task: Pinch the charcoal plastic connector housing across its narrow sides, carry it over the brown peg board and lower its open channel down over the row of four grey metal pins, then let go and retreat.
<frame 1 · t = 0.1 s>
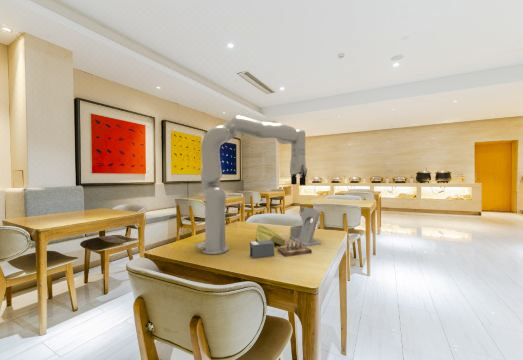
hand: (298, 184, 128), 31 cm above the table, fingers open, 9 cm apart
plastic component: (269, 242, 129), on the table
brown peg board: (294, 252, 112), on the table
phone holder: (304, 241, 130), on the table
connector housing: (261, 255, 107), on the table
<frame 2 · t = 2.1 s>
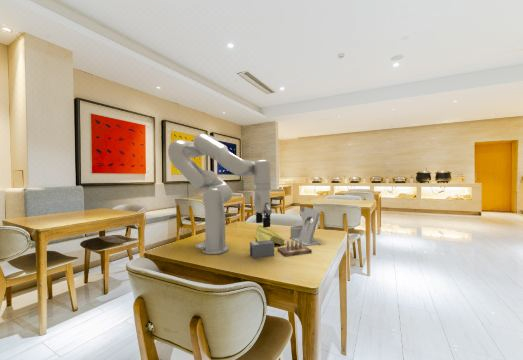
hand: (262, 224, 107), 14 cm above the table, fingers open, 9 cm apart
nothing on the table moved.
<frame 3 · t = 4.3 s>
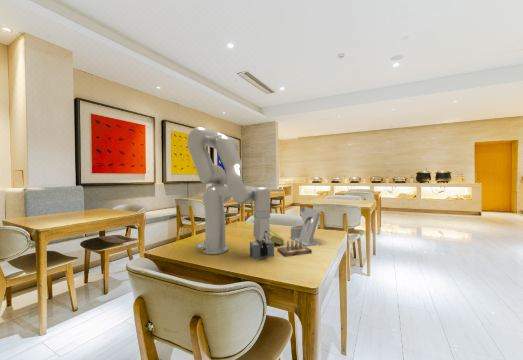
hand: (261, 253, 107), 1 cm above the table, fingers closed on connector housing, 5 cm apart
connector housing: (261, 255, 107), on the table, touching gripper
everything else where it was.
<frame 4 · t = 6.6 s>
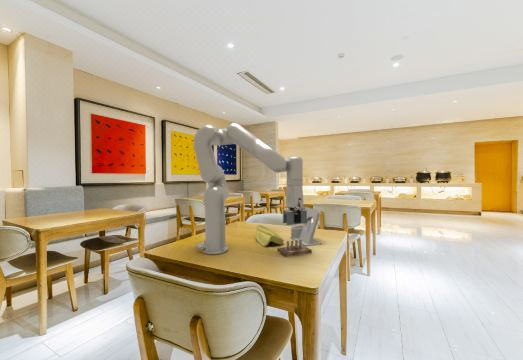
hand: (294, 221, 111), 15 cm above the table, fingers closed on connector housing, 5 cm apart
connector housing: (294, 223, 111), point 14 cm above the table, touching gripper
everything else where it was.
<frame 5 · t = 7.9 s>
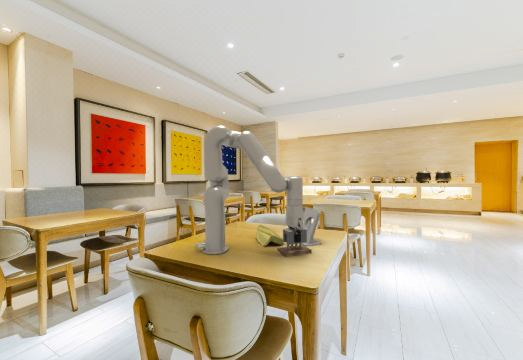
hand: (294, 240, 111), 6 cm above the table, fingers closed on connector housing, 5 cm apart
connector housing: (294, 242, 111), point 5 cm above the table, touching gripper
everything else where it was.
when the fingers open (4 cm above the table, at t = 9.1 s): connector housing drops 1 cm, resting on brown peg board.
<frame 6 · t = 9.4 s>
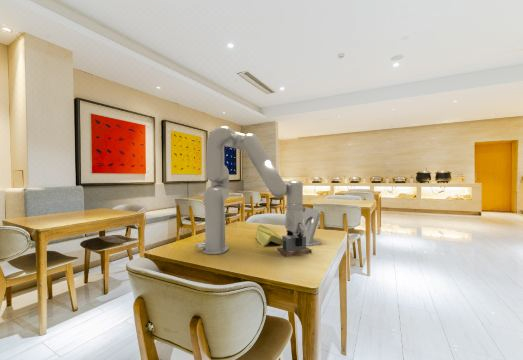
hand: (294, 243, 112), 4 cm above the table, fingers open, 8 cm apart
connector housing: (294, 248, 112), point 1 cm above the table, touching brown peg board
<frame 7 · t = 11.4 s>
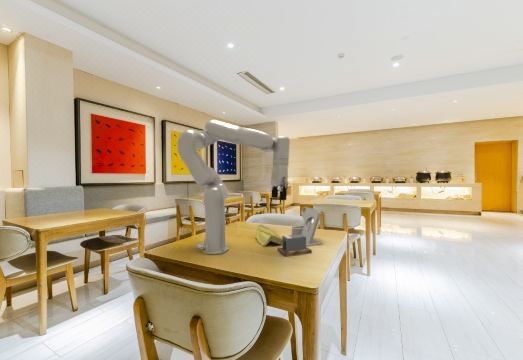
hand: (278, 198, 112), 25 cm above the table, fingers open, 9 cm apart
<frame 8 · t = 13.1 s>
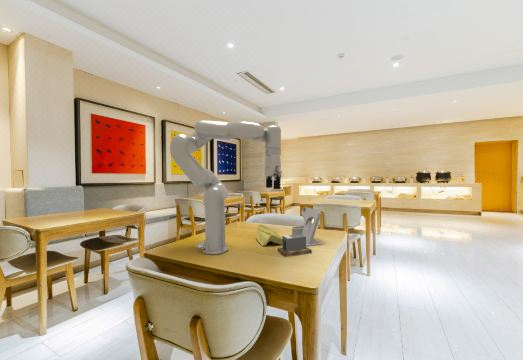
hand: (272, 188, 112), 30 cm above the table, fingers open, 9 cm apart
at the end: connector housing 0.1 cm off-centre on the brown peg board, point 1.5 cm above the brown peg board's base; connector housing tilted 0°; the gripper is holding nothing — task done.
